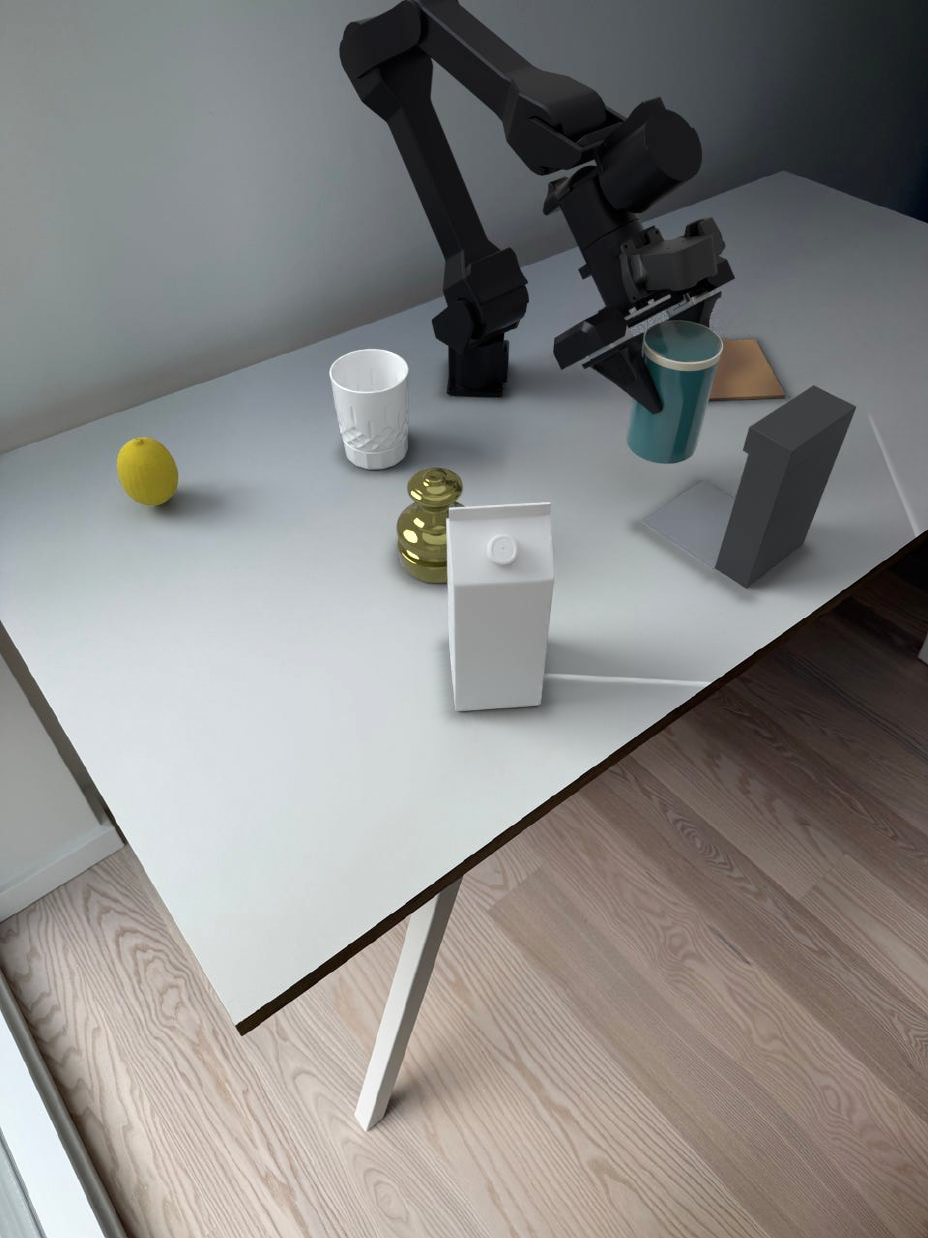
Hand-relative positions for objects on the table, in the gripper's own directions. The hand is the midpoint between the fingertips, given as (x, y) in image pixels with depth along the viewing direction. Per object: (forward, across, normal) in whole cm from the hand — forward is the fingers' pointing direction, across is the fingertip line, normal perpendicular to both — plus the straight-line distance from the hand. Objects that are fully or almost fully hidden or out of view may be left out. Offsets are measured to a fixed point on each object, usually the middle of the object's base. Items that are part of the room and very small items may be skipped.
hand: (683, 397), depth 82 cm
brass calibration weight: (+3, -23, +15) cm, 27 cm away
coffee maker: (+14, 0, +3) cm, 14 cm away
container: (+3, 0, +5) cm, 6 cm away
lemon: (-14, -39, +33) cm, 53 cm away
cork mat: (+1, +23, +16) cm, 29 cm away
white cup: (-9, -17, +27) cm, 33 cm away
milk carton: (+13, -28, +5) cm, 31 cm away
